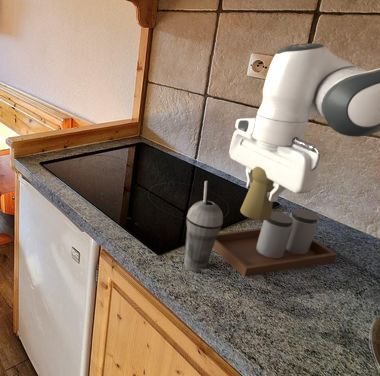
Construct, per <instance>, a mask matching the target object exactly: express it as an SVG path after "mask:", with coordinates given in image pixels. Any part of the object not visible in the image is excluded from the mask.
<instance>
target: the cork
mask: <svg viewBox="0 0 380 376" xmlns="http://www.w3.org/2000/svg"><path fill="white" fill-rule="evenodd" d="M252 177H253V182H252V184H251V186H250V189H249V188H248V192H247V193H246V196H245V198H244V200H243V203H242V205H241V207H240V210H239V211H240V213H241V214H242V215H243V216H244V217H246V218H249V219H252V220H256V221H264V220H268V219H270V218H271V214H272V212H273V205H274V202H271V201H269V200H267V199H266V193H267V191H272V190H273V189H274V188H275V187H274V186H273V183H274V181H272V180H270V179H268V178H267V176H266V172H265V171H264V170H263V169H262V168H260V167H255V168H254V169H253V172H252Z"/></svg>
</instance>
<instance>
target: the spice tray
mask: <svg viewBox="0 0 380 376" xmlns="http://www.w3.org/2000/svg"><path fill="white" fill-rule="evenodd" d="M261 228H262V227H256V228H249V229H241V230H233V231H226V232H219V233H218V234H217V237H216V240H215V243H214V246H213V249H212V250H214V252H215V253H217V254H218V255H219V256H220V257H221V258H223V259H224V261H226V262H227V263H228V264H229V265H230V266H231V267H232V268H233V269H235V270H236V271H237V272H239V274H240V275H241V276H243V278H245V277H251V276H257V275H263V274H264V275H265V274H269V273H270V274H271V273H276V272H280V271H287V270H288V271H289V270H294V269H300V268H307V267H313V266H318V265H326V264H330V263H334V262H335V261H336V258H337V256H338V254H337V253H336V252H334V251H333V250H331V249H329V248H328V247H327V246H325V245H323V244H322V243H320V242H319V241H317V240H316V239H314V238H313V241H312V244H311V247H310V250H309V252H308V253H307V254H295V253H291V252H289V251H287V250H285V253H284V256H283V257H282V258H270V257H266V256H264V255H262V254H260V253H259V252H258V251H257V250H256V245H257V242H258V238H259V235H260V231H261Z"/></svg>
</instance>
